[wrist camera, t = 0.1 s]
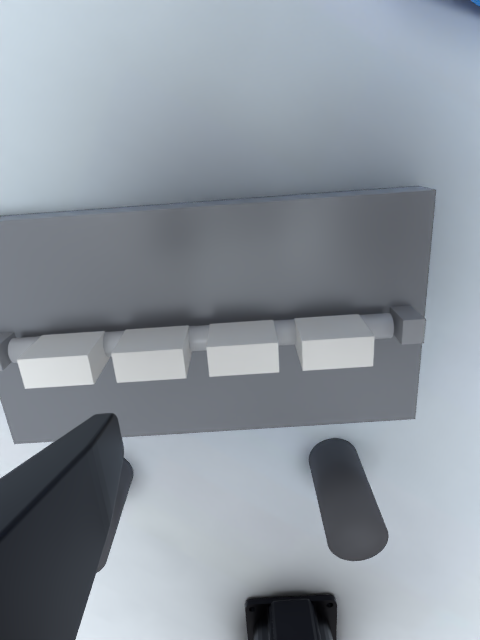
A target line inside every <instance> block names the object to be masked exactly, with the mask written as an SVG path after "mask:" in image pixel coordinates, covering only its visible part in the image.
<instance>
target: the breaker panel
mask: <svg viewBox="0 0 480 640" xmlns="http://www.w3.org/2000/svg"><path fill="white" fill-rule="evenodd" d="M435 196H436V190H435V189H430V188H426V187H421V186H411V187H397V188H383V189H369V190H355V191H341V192H327V193H314V194H300V195H286V196H272V197H258V198H244V199H230V200H216V201H202V202H188V203H174V204H160V205H146V206H132V207H119V208H105V209H91V210H77V211H63V212H49V213H35V214H21V215H7V216H0V400H1V403H2V406H3V409H4V412H5V416H6V419H7V422H8V425H9V429H10V432H11V435H12V438H13V441H14V444H21V443H37V442H53V441H56V440H58V439H59V438H61V437H62V436H64V435H65V434H67V433H68V432H70V431H71V430H72V429H74V428H75V427H77V426H78V425H80V424H81V423H83V422H84V421H86V420H87V419H89V418H90V417H92V416H93V415H95V414H102V413H114V414H115V415H116V416H117V418H118V422H119V427H120V432H121V437H134V436H150V435H166V434H182V433H198V432H214V431H230V430H246V429H262V428H278V427H294V426H310V425H326V424H342V423H358V422H374V421H390V420H406V419H415V415H416V404H417V393H418V382H419V371H420V360H421V349H422V343H424V334H425V323H426V319H425V318H424V316H425V305H426V295H427V284H428V273H429V262H430V251H431V240H432V229H433V218H434V207H435ZM382 313H390V314H391V316H392V318H393V323H394V334H393V337H392V338H387V339H374V359H373V366H370V367H355V368H339V369H324V370H308V371H303V370H302V367H301V363H300V360H299V357H298V353H297V350H296V346H295V345H280V346H278V352H279V372H277V373H262V374H246V375H231V376H215V377H209V368H208V359H207V350H204V351H192V354H191V359H190V363H189V368H188V373H187V377H186V378H184V379H169V380H153V381H138V382H122V383H117V381H116V376H115V371H114V365H113V360H112V357H110V358H109V360H108V361H107V363H106V365H105V366H104V368H103V370H102V372H101V373H100V375H99V377H98V378H97V380H96V382H95V383H94V384H92V385H76V386H61V387H45V388H30V389H25V387H24V383H23V380H22V376H21V373H20V369H19V366H18V363H13V362H12V361H11V360H10V358H9V355H8V344H9V342H10V340H11V339H12V338H22V337H37V336H42V335H51V334H66V333H81V332H96V331H105V332H112V331H125V330H126V329H141V328H156V327H171V326H186V325H189V326H202V325H210V324H216V323H231V322H246V321H261V320H273V321H277V320H292V319H295V318H306V317H321V316H336V315H351V314H359V315H367V314H382Z"/></svg>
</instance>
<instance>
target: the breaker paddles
mask: <svg viewBox="0 0 480 640" xmlns="http://www.w3.org/2000/svg"><path fill="white" fill-rule="evenodd" d="M393 334H394V323H393V318H392V316H391V314H390V313H382V314H367V315H359V314H351V315H336V316H321V317H306V318H295V319H292V320H277V321H273V320H261V321H246V322H231V323H216V324H210V325H202V326H189V325H186V326H171V327H156V328H141V329H126V330H125V331H112V332H105V331H96V332H81V333H66V334H51V335H42V336H37V337H22V338H12V339H11V340H10V342H9V344H8V355H9V358H10V360H11V361H12V362H13V363H18V366H19V369H20V373H21V376H22V380H23V383H24V387H25V389H30V388H45V387H61V386H76V385H92V384H94V383H95V382H96V380H97V378H98V377H99V375H100V373H101V372H102V370H103V368H104V366H105V365H106V363H107V361H108V360H109V358H110V357H112V360H113V365H114V371H115V376H116V381H117V383H122V382H138V381H153V380H169V379H184V378H186V377H187V373H188V368H189V363H190V359H191V354H192V351H204V350H207V359H208V368H209V377H215V376H231V375H246V374H262V373H277V372H279V352H278V346H280V345H295V346H296V350H297V353H298V357H299V360H300V363H301V367H302V370H303V371H308V370H324V369H339V368H355V367H370V366H373V359H374V339H387V338H392V337H393Z"/></svg>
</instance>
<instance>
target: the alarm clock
mask: <svg viewBox="0 0 480 640" xmlns="http://www.w3.org/2000/svg"><path fill="white" fill-rule="evenodd" d="M471 1H472V2H473V3H475V4H476V5H477V6H479V7H480V0H471Z"/></svg>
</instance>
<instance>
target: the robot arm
mask: <svg viewBox="0 0 480 640" xmlns="http://www.w3.org/2000/svg"><path fill="white" fill-rule="evenodd" d="M123 457H124V447H123V442H122V437H121V432H120V427H119V422H118V418H117V416H116V415H115V414H114V413H102V414H95V415H93V416H92V417H90V418H89V419H87V420H86V421H84V422H83V423H81V424H80V425H78V426H77V427H75V428H74V429H72V430H71V431H70V432H68V433H67V434H65V435H64V436H62V437H61V438H59V439H58V440H56V441H55V442H53V443H52V444H50V445H49V446H47V447H46V448H44V449H43V450H42V451H40V452H39V453H37V454H36V455H34V456H33V457H31V458H30V459H28V460H27V461H25V462H24V463H22V464H21V465H19V466H18V467H16V468H15V469H14V470H12V471H11V472H9V473H8V474H6V475H5V476H3V477H2V478H0V640H75V639H76V636H77V633H78V629H79V626H80V623H81V620H82V616H83V613H84V610H85V607H86V604H87V600H88V597H89V594H90V591H91V588H92V584H93V581H94V578H95V575H96V571H97V568H98V565H99V562H100V559H101V555H102V552H103V549H104V546H105V543H106V539H107V536H108V532H109V529H110V525H111V520H112V516H113V510H114V505H115V500H116V495H117V489H118V484H119V479H120V473H121V468H122V463H123ZM245 611H246V622H247V633H248V640H336V625H337V603H336V599H335V597H334V596H333V595H316V596H298V597H280V598H262V599H249V600H247V601H246V603H245Z"/></svg>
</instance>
